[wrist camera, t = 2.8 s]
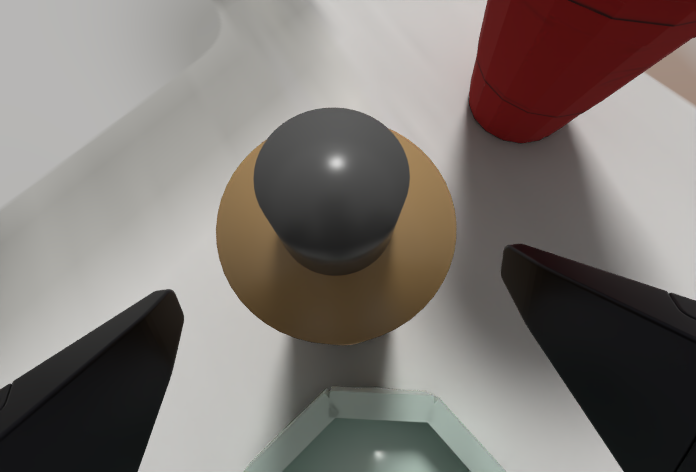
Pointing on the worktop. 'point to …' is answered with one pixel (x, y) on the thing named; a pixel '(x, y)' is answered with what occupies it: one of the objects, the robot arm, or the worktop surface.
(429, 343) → the worktop surface
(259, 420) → the worktop surface
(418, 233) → the bottle
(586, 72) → the plastic cup
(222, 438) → the worktop surface
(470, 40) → the worktop surface
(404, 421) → the dish
